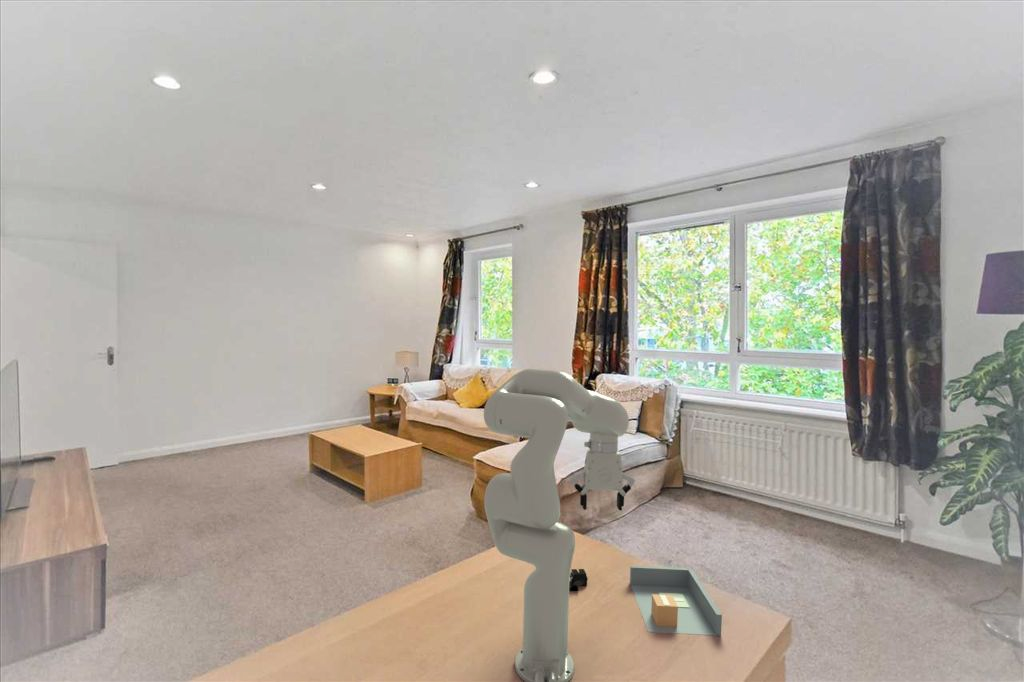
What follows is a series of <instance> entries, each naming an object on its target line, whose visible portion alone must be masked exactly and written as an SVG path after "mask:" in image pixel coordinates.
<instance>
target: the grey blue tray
mask: <svg viewBox="0 0 1024 682" xmlns="http://www.w3.org/2000/svg"><path fill="white" fill-rule="evenodd" d="M629 569H630V570H629V585H630V587H631V590H632V592H633V595H634V597H635V600H636V602H637V605H638V608H639V611H640V614H641V616H642V618H643V621H644V624H645V627H646V629H647V632H648V633H656V634H657V633H658V634H659V633H660V634H662V633H663V634H676V635H677V634H678V635H680V634H681V635H698V636H700V635H701V636H716V637H717V636H719V637H720V636H722V626H723V625H722V622H723V619H722V618H723V615H722V613H721V612H720V609H719V608H718V607H717V605H716V603H715V601H713V599H712V597H711V596H710V595H709V592H708V591H707V590H706V588H705V587H704V586H703V584H702V582H701V580H700V579H699V578H698V576H697V575H696V573H695V572H694V570H693V568H692V567H673V566H652V565H651V566H650V565H648V566H647V565H632V564H631V565H630V566H629ZM652 594H657V595H672V596H673V598H674V600H675V602H676V604H677V606H678V619H677V627H668V626H656V624H655V621H654V619H653V617H652V614H651V609H652Z"/></svg>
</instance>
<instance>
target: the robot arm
mask: <svg viewBox="0 0 1024 682" xmlns="http://www.w3.org/2000/svg"><path fill="white" fill-rule="evenodd" d="M483 419H484V420H483V421H484V424H485V425H486V426H487V428H488V429H489V430H491V431H492V432H493V433H497V434H500V435H507V436H513V437H520V438H525V439H528V440H527V442H526V443H525V444H524V446H523V447H521V449H519V450H518V452H517V453H516V455H515V456H514V457H513V459H511V462H510V467H509V468H510V469H509V471H510V473H509V472H508V473H507V472H502V473H497V474H495V475H494V476H493V477H492V478H491V479H490V480H489V482H488V484H487V485H486V488H485V493H484V501H483V502H484V503H483V504H484V511H485V514H486V518H487V522H488V526H489V529H490V533H491V536H492V539H493V544H494V545H495V548H496V550H497V551H498V552H499V553H500V554H502V555H503V556H506V557H508V558H512V559H514V560H517V561H521V562H525V563H527V564H530V565H532V566H534V567H535V569H534V570H533V571H532V572H530V574H529V575H528V576H527V578H526V580H525V581H524V588H523V621H522V622H523V625H522V648H521V649H520V650H519V651H518V652H517V654H516V656H515V660H514V667H515V672H516V673H517V675H518V676H519V678H520V679H522V681H524V682H569V681H570V680H571V679H572V678H573V676H574V673H575V661H574V658H573V657H572V655H571V654H570V653H569V652H568V643H569V642H568V639H569V609H570V607H569V606H570V604H569V603H570V602H569V601H570V591H569V582H570V573H571V569H572V564H573V559H574V555H575V554H574V553H575V549H576V548H575V547H576V536H575V533H574V532H573V529H572V528H571V527H570V526H568V525H567V524H565V523H564V522H561V521H559V519H560V517H561V501H560V495H559V489H558V484H557V479H556V476H555V475H556V473H555V467H554V466H555V464H554V463H555V460H556V457H557V454H558V452H559V450H560V447H561V444H562V441H563V438H564V436H565V432H566V429H567V426H568V422H571V423H572V426H573V428H574V429H575V430H577V431H579V432H582V433H586V434H587V433H588V434H589V440H588V441H584V444H583V445H584V448H588V449H587V451H586V455H585V458H584V459H585V461H584V466H583V467H584V469H583V470H582V471H580V472H579V473H576V474H574V475H572V476H571V477H570V480H571V482H572V484H573V486H574V488H575V489H576V491H577V492H578V493H579V494H580V495H579V496H580V497H579V498H580V499H579V504H580V506H582V510H583V511H586V510H587V505H588V504H587V503H588V502H587V500H588V498H587V497H588V496H587V493H588V491H589V490H590V491H591V490H592V491H618V492H617V493H616V507H617V510H618V511H622V509H623V507H624V505H625V496H626V495H627V493H628V492H629V491H630V490H632V487H633V485H634V483H635V478H633V477H632V476H629V475H628V474H626V473H624V472H623V460H622V453H621V452H620V451H619V450H618V446H619V445H618V444H619V437H622V436H624V435H625V434H626V432H627V430H628V428H629V424H630V422H629V421H630V420H629V414H628V412H627V410H626V407H624V406H623V405H622V404H621V403H620V402H619V401H618V400H616V399H613V398H611V397H608V396H605V395H602V394H600V393H597V392H595V391H593V390H589V389H587V388H586V387H584V386H583V384H581V383H580V382H578V381H577V380H576V379H575V378H574V377H573V376H572V375H570V374H568V373H567V372H564V371H561V370H549V369H548V370H547V369H535V368H525V369H523V370H520V371H519V372H516V374H514V375H512V376H511V377H510V378H509V379H507V380H506V381H505V382H504V383H503V384H502V385H500V386H499V387H498V388H497V389H495V391H493V393H491V395H489V398H488V399H487V400H486V403H485V405H484V410H483ZM581 479H583V484H582V485H580V484H579V482H578V481H579V480H581ZM623 480H625V481H627V482H626V484H625V485H624V481H623ZM623 485H624V486H623Z"/></svg>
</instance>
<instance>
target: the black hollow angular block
mask: <svg viewBox="0 0 1024 682" xmlns="http://www.w3.org/2000/svg"><path fill="white" fill-rule="evenodd" d="M588 580H589V578H588V576H587V573H586V571H585V568H578V569H577V568H573V569H572V568H571V571H570V582H569V592H579V587H587V586H588Z"/></svg>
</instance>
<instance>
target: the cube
mask: <svg viewBox="0 0 1024 682" xmlns="http://www.w3.org/2000/svg"><path fill="white" fill-rule="evenodd" d="M651 614H652V617H653V619H654V621H655V624H656V626H668V627H677V619H678V606H677V604H676V602H675V600H674V598H673V596H672V595H657V594H652V609H651Z"/></svg>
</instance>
